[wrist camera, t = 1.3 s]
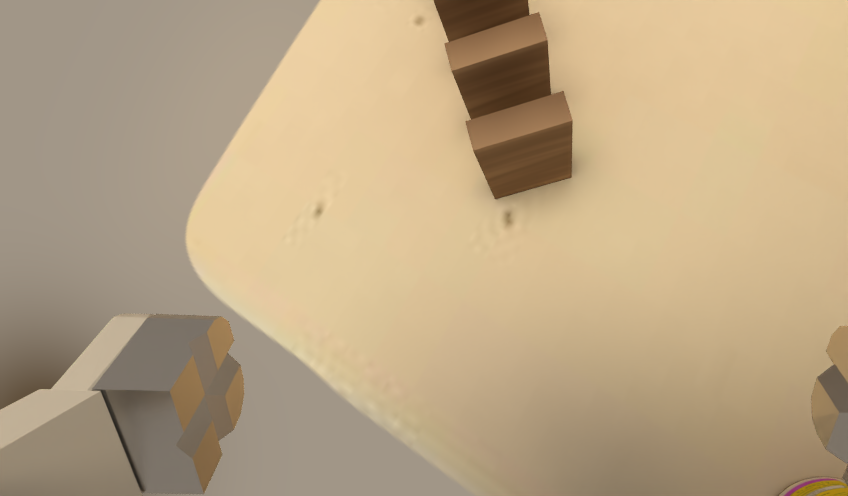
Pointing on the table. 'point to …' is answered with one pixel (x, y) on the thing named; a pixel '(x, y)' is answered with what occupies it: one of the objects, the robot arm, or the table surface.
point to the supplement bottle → (817, 487)
